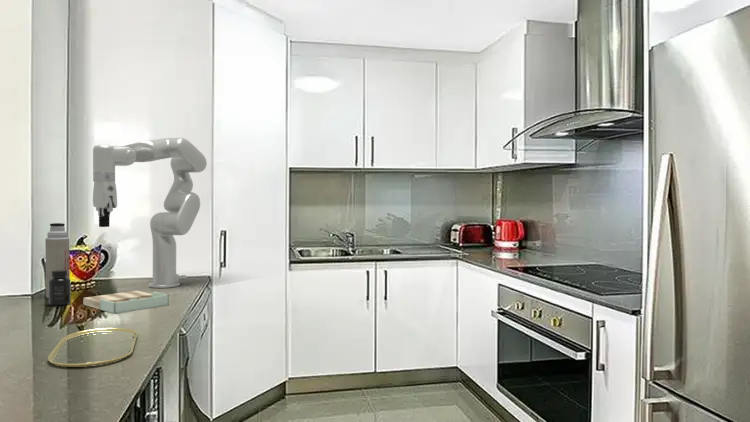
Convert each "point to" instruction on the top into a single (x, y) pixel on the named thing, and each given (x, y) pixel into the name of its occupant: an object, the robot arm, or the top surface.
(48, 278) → the thermos bottle
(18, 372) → the top surface
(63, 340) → the serving platter
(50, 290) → the supplement bottle
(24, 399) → the top surface
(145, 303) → the tray
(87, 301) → the maple board
